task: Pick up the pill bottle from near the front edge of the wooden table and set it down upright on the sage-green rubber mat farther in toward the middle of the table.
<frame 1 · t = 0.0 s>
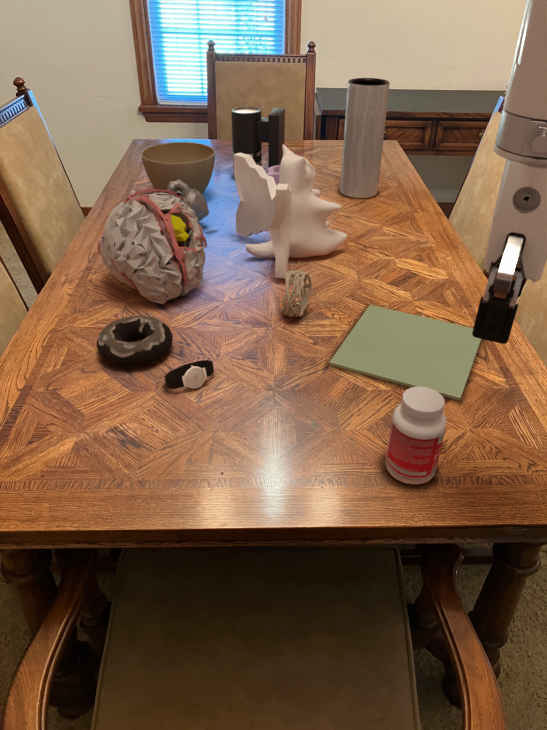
hand: (497, 315, 57), 22 cm above the table, tool pointing down, fingers open, 9 cm apart
clip: (279, 205, 146), on the table
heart: (190, 228, 133), on the table
mat: (409, 348, 92), on the table
pill bottle: (409, 469, 71), on the table
decorative sculpture: (158, 286, 110), on the table
bracelet: (295, 314, 101), on the table
donut: (137, 352, 92), on the table
light fixture: (257, 178, 164), on the table
planter: (358, 193, 154), on the table
flower pot: (182, 200, 148), on the table
white spiky figurine: (292, 253, 122), on the table
watch: (190, 382, 85), on the table
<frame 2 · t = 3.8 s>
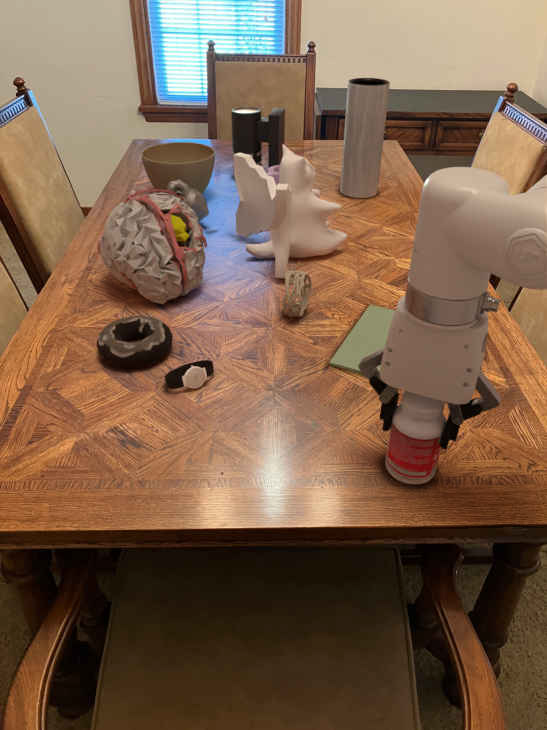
hand: (416, 431, 67), 6 cm above the table, tool pointing down, fingers closed on pill bottle, 6 cm apart
pill bottle: (409, 469, 71), on the table, touching gripper
everything else where it was.
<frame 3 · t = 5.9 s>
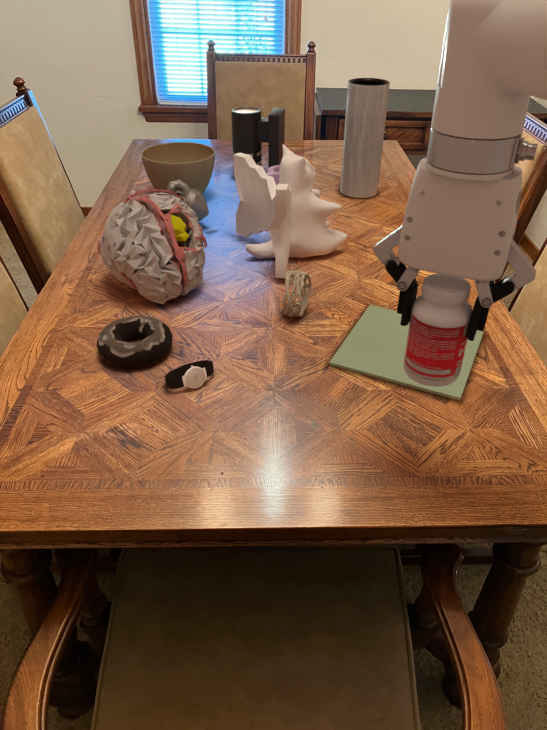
hand: (439, 325, 60), 20 cm above the table, tool pointing down, fingers closed on pill bottle, 6 cm apart
pill bottle: (430, 373, 64), point 14 cm above the table, touching gripper
everything else where it was.
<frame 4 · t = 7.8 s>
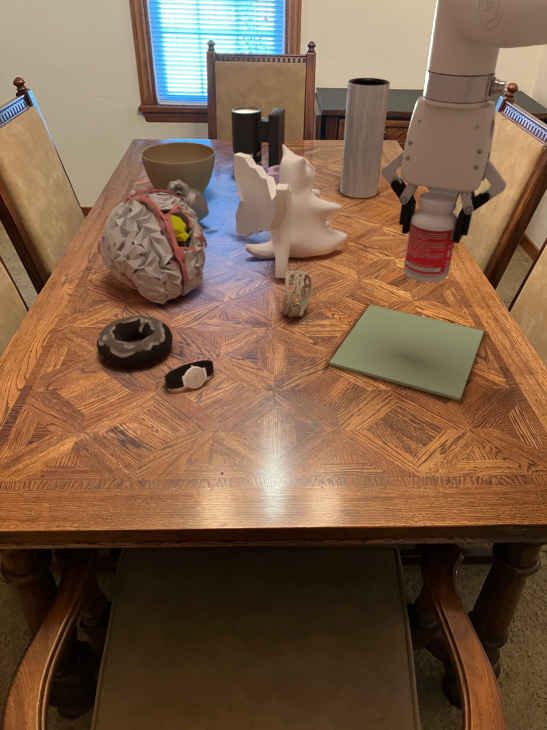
hand: (432, 233, 77), 21 cm above the table, tool pointing down, fingers closed on pill bottle, 6 cm apart
pill bottle: (425, 275, 80), point 15 cm above the table, touching gripper
everything else where it was.
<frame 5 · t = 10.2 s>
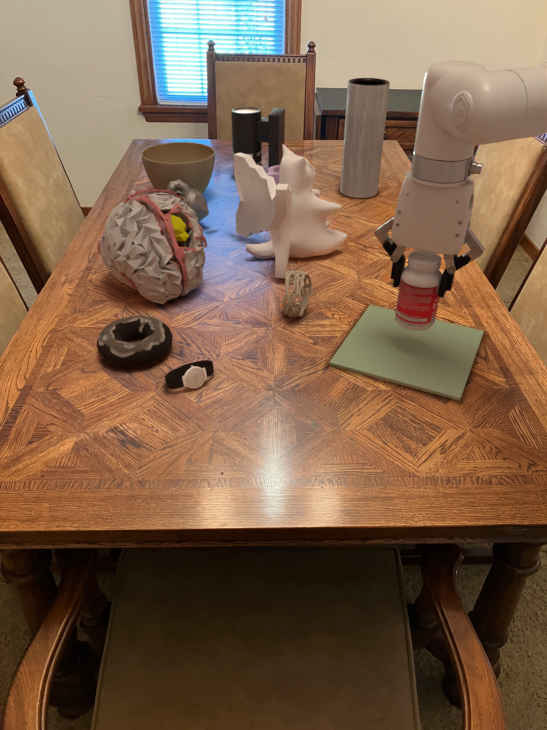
hand: (419, 287, 86), 11 cm above the table, tool pointing down, fingers closed on pill bottle, 6 cm apart
pill bottle: (413, 323, 90), point 5 cm above the table, touching gripper
everything else where it was.
when the fingers open (7 cm above the table, at t = 11.8 s): pill bottle stays where it is, resting on mat.
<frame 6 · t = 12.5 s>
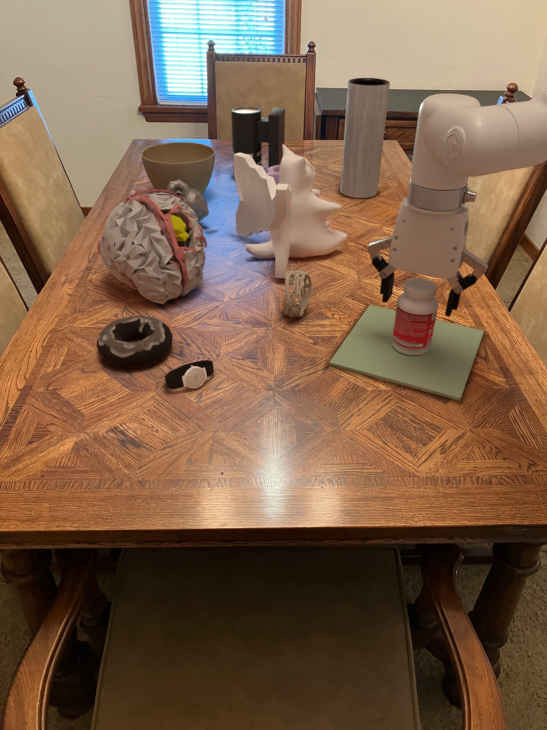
hand: (417, 305, 88), 8 cm above the table, tool pointing down, fingers open, 9 cm apart
pill bottle: (410, 347, 92), resting on mat
everything else where it was.
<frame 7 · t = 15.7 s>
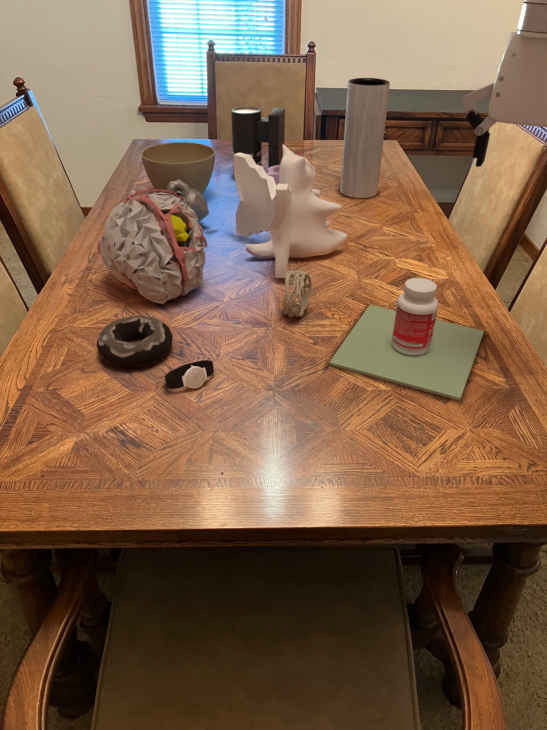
hand: (516, 168, 77), 28 cm above the table, tool pointing down, fingers open, 9 cm apart
nothing on the table moved.
at the end: pill bottle inside the target area on the mat (0.1 cm from its centre), point 0.4 cm above the mat's base; pill bottle tilted 0°; the gripper is holding nothing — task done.
